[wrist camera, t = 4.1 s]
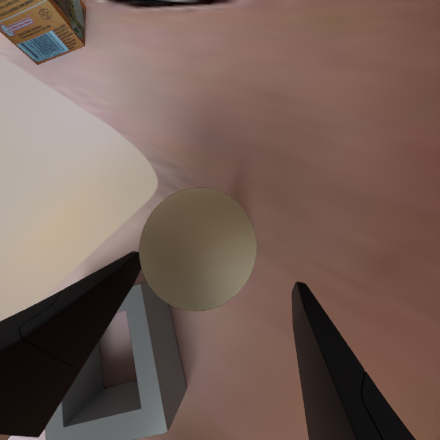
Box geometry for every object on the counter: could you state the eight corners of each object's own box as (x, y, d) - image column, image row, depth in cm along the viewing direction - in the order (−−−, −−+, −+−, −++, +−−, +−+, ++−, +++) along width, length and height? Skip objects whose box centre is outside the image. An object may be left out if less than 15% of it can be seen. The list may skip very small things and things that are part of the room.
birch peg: (257, 263, 17) (277, 289, 5) (218, 275, 18) (152, 326, 6) (243, 224, 18) (232, 170, 6) (207, 237, 19) (130, 209, 7)
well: (187, 388, 16) (167, 432, 12) (92, 412, 17) (46, 458, 13) (162, 277, 19) (140, 283, 15) (81, 303, 20) (41, 316, 16)
